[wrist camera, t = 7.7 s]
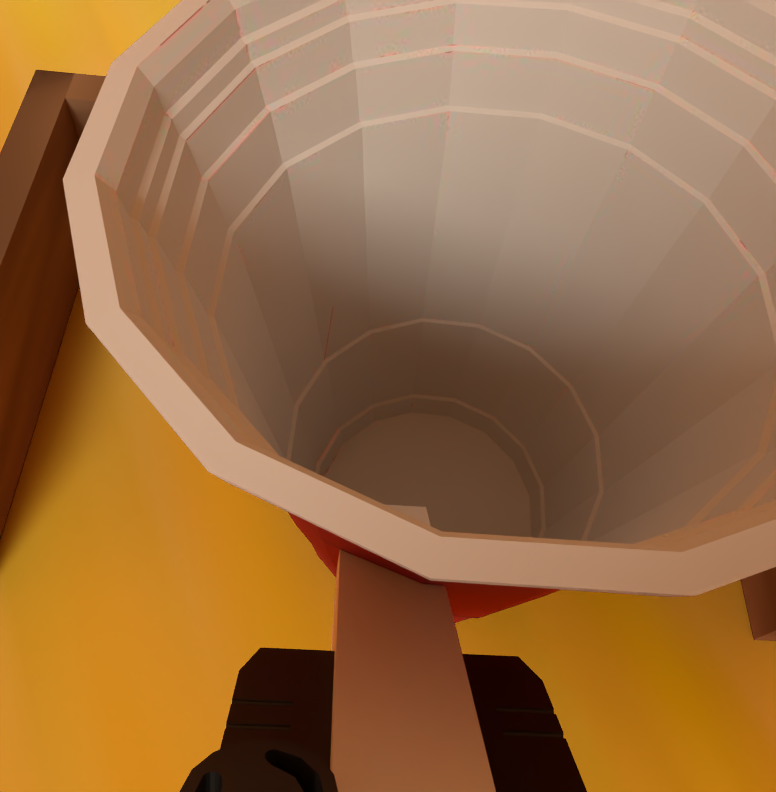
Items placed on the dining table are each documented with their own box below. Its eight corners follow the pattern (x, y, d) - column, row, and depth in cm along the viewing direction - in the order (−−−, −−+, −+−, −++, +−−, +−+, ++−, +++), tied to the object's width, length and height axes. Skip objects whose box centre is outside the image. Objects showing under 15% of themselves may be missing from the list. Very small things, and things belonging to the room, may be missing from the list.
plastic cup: (283, 290, 22) (256, -197, 11) (644, 387, 21) (963, -34, 11) (120, 660, 16) (-218, 372, 6) (602, 807, 16) (1172, 772, 5)
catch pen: (696, 236, 24) (759, 138, 21) (794, 642, 18) (909, 597, 14) (77, 182, 23) (36, 69, 20) (-65, 596, 17) (-164, 536, 13)
